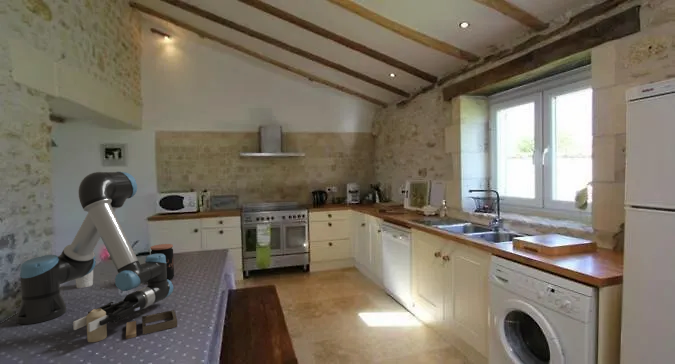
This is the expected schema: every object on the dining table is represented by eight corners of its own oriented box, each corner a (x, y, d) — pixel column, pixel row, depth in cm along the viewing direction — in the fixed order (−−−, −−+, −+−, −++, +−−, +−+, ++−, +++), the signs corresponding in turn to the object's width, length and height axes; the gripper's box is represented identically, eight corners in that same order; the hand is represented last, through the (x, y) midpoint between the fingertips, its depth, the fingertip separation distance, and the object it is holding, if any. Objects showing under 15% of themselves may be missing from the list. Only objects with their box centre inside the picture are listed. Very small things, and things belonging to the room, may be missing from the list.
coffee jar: (165, 283, 176) (163, 248, 176) (147, 282, 178) (145, 248, 178) (178, 276, 187) (177, 244, 186) (161, 276, 189) (160, 243, 188)
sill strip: (126, 339, 117) (125, 335, 117) (126, 325, 127) (126, 322, 127) (136, 336, 118) (136, 333, 118) (136, 323, 129) (136, 320, 129)
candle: (92, 344, 114) (90, 314, 114) (84, 340, 117) (82, 311, 116) (110, 337, 119) (108, 308, 118) (102, 333, 122) (100, 305, 121)
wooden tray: (142, 334, 120) (142, 327, 120) (142, 323, 129) (142, 316, 129) (177, 326, 125) (177, 319, 125) (174, 316, 135) (174, 309, 135)
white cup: (71, 287, 173) (70, 268, 173) (87, 282, 180) (86, 263, 180) (81, 289, 170) (80, 269, 170) (97, 284, 177) (96, 265, 177)
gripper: (159, 311, 133) (104, 340, 110) (120, 307, 137) (60, 335, 115) (158, 292, 132) (103, 317, 110) (119, 289, 137) (59, 313, 115)
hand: (81, 326), depth 112 cm, fingers closed on candle, 5 cm apart
